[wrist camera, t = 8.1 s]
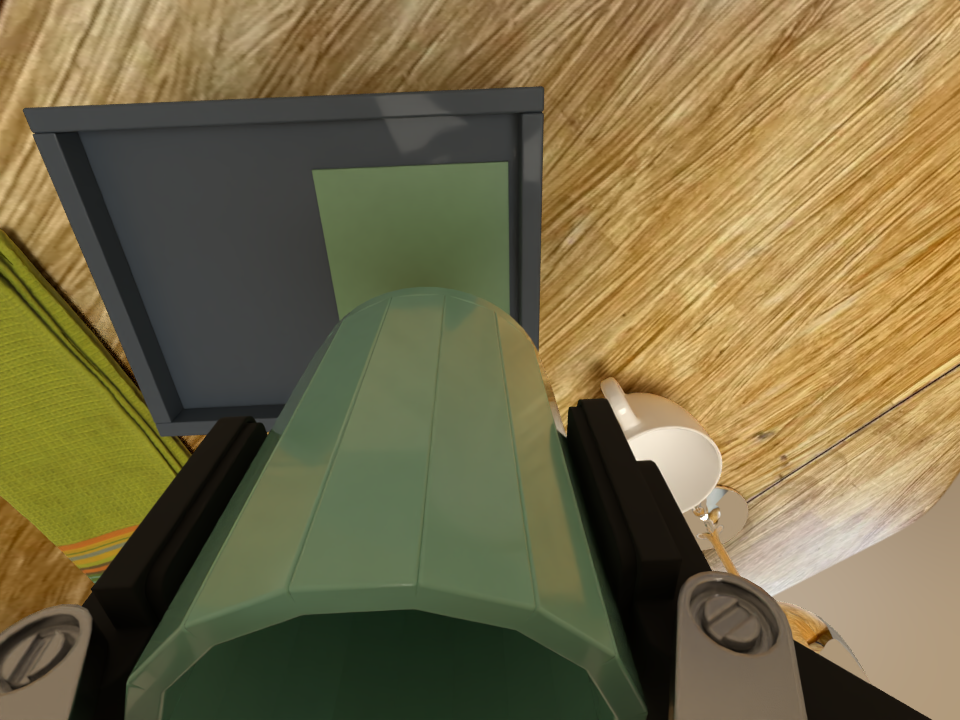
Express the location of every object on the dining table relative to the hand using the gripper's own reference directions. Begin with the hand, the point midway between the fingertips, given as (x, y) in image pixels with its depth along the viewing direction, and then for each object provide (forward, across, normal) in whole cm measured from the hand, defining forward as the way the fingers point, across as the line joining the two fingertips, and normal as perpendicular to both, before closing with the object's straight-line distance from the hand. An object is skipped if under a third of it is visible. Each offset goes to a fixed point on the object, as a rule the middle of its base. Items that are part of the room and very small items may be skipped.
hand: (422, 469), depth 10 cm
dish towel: (+23, +28, +18) cm, 40 cm away
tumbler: (+3, 0, 0) cm, 3 cm away
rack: (+23, +5, 0) cm, 23 cm away
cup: (+23, -12, +14) cm, 29 cm away
